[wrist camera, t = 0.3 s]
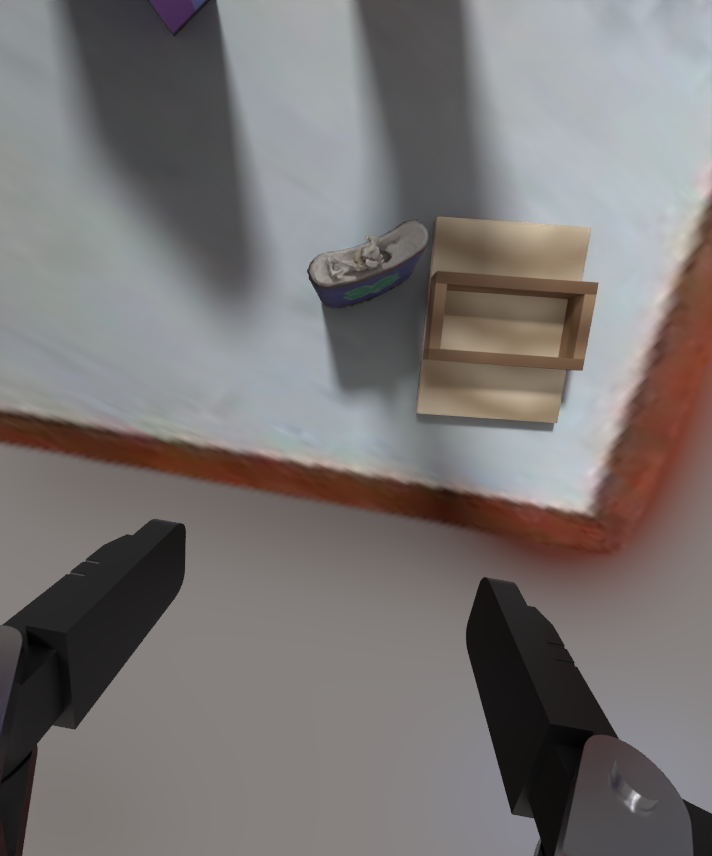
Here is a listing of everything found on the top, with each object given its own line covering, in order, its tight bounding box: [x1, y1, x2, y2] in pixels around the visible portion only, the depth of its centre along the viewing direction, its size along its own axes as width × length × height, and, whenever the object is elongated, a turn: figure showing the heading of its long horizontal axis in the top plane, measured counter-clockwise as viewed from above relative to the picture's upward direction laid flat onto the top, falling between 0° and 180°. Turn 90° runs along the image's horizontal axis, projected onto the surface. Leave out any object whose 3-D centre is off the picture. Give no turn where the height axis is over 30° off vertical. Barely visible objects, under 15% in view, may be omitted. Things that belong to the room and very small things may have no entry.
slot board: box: [416, 216, 598, 423], centre depth 33 cm, size 18×14×4 cm
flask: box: [307, 220, 429, 309], centre depth 29 cm, size 9×3×11 cm, turn 110°
